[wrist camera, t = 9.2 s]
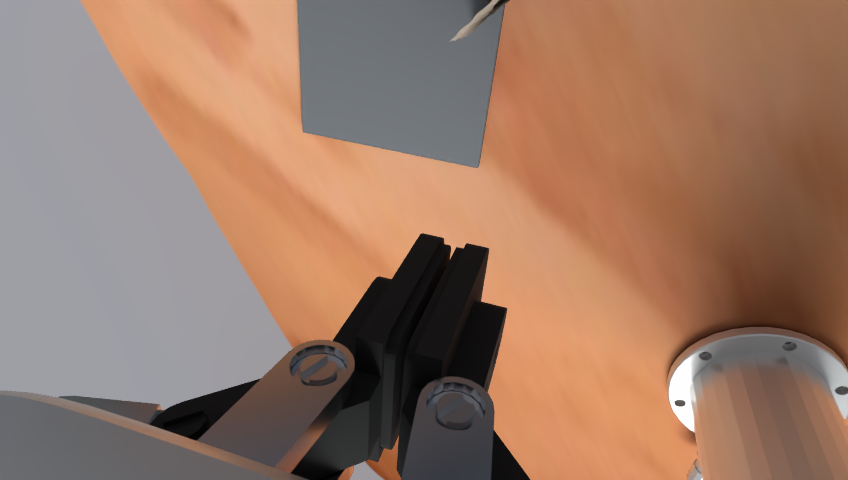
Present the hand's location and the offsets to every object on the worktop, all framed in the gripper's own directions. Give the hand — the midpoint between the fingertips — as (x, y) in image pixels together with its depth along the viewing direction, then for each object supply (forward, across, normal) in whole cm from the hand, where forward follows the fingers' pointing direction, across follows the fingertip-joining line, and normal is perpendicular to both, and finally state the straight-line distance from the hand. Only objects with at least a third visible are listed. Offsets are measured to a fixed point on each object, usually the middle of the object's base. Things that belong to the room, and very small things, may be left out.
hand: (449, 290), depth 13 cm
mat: (+25, +11, -2) cm, 28 cm away
